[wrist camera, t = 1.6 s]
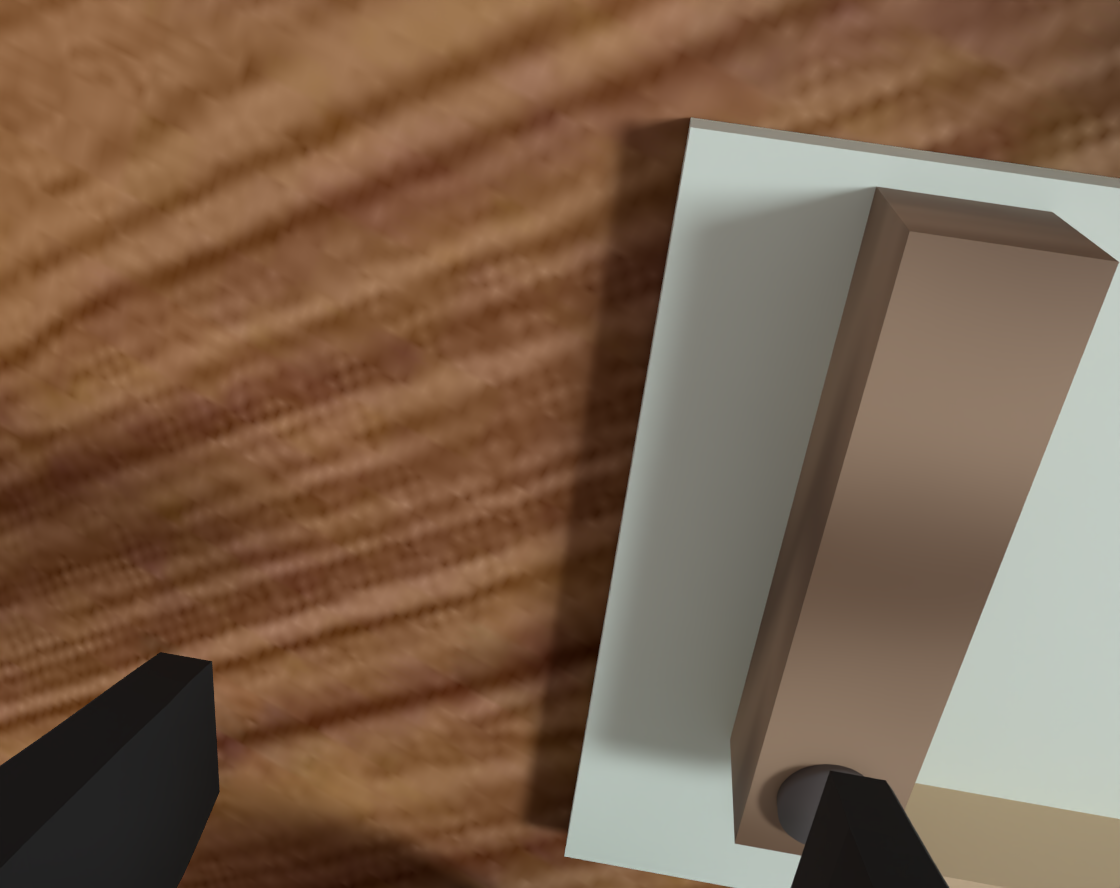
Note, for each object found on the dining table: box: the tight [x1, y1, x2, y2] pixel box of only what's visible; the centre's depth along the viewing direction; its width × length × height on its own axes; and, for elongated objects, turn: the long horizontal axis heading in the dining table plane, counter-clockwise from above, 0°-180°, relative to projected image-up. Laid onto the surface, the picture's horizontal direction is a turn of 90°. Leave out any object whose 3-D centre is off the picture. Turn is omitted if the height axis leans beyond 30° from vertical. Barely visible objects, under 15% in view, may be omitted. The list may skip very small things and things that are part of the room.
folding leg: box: [730, 186, 1119, 856], centre depth 17 cm, size 12×3×3 cm, turn 173°
